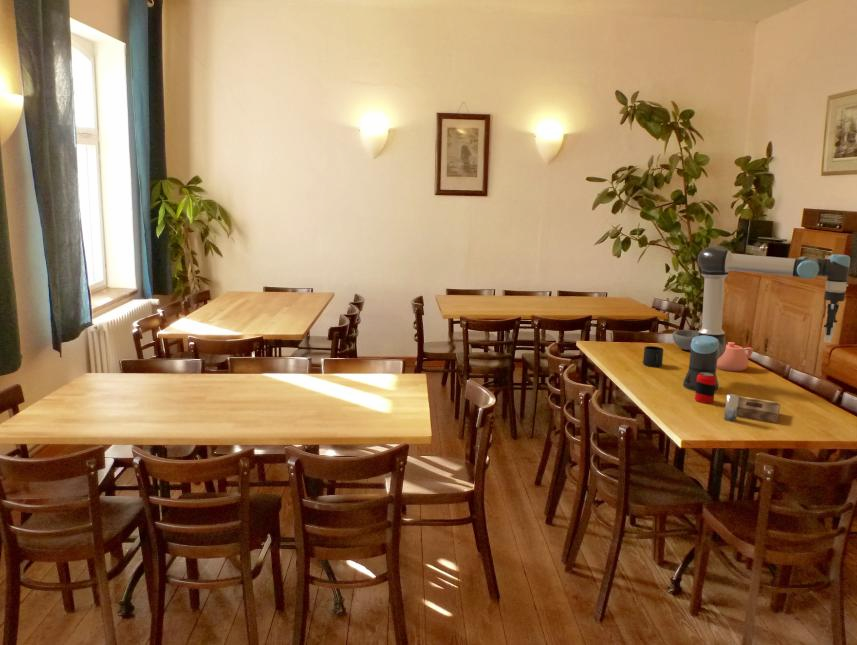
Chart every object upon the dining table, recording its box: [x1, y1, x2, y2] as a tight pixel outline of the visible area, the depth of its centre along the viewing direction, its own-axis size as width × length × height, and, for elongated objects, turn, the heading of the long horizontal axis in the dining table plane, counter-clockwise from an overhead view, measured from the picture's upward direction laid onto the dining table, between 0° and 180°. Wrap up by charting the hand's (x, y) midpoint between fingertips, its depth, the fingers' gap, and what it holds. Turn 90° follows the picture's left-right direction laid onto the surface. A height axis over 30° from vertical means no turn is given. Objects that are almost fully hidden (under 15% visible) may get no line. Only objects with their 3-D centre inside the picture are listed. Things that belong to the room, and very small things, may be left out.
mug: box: [642, 345, 664, 368], centre depth 342 cm, size 9×12×9 cm
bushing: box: [723, 393, 740, 422], centre depth 261 cm, size 4×4×10 cm
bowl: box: [672, 329, 699, 352], centre depth 379 cm, size 23×22×10 cm
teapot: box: [716, 341, 754, 372], centre depth 340 cm, size 25×17×13 cm
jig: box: [737, 395, 781, 424], centre depth 268 cm, size 18×14×5 cm
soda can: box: [694, 372, 716, 404], centre depth 284 cm, size 8×8×12 cm
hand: (828, 339), depth 284 cm, fingers open, 13 cm apart
